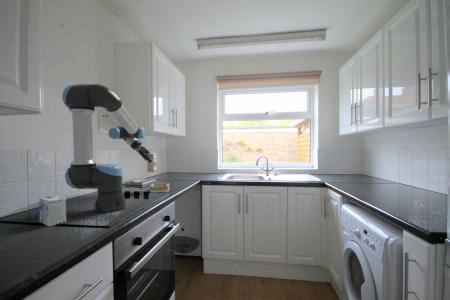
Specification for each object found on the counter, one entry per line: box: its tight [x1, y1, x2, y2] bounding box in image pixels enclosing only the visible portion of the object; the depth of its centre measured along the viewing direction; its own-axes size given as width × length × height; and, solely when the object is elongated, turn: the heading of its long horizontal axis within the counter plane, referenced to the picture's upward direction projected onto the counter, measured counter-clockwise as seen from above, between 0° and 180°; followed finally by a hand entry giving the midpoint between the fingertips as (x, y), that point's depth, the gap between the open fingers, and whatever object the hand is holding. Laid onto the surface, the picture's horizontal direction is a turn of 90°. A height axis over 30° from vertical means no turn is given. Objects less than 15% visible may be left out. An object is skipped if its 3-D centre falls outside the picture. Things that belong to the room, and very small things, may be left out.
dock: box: [149, 182, 170, 194], centre depth 170 cm, size 12×12×4 cm
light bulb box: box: [38, 194, 67, 227], centre depth 101 cm, size 11×7×11 cm, turn 55°
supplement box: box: [146, 152, 158, 173], centre depth 167 cm, size 8×5×13 cm, turn 179°
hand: (156, 164), depth 167 cm, fingers closed on supplement box, 8 cm apart
